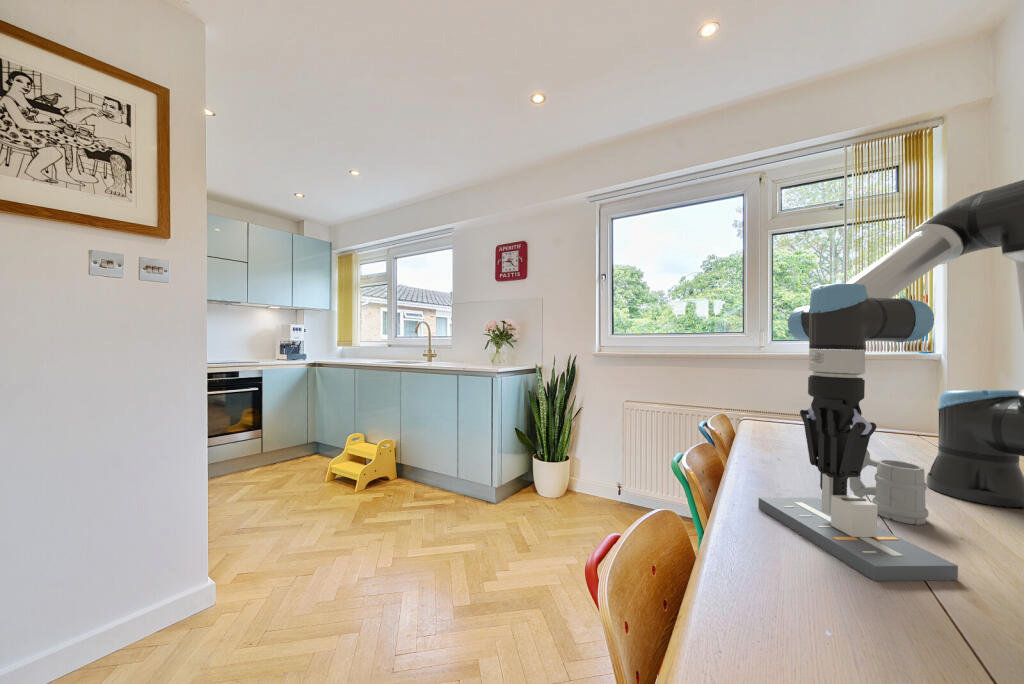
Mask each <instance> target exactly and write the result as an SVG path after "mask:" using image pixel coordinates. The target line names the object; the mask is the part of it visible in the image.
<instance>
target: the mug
mask: <svg viewBox="0 0 1024 684" xmlns="http://www.w3.org/2000/svg"><path fill="white" fill-rule="evenodd" d="M867 466H871V467H873V468H874V467H876V473H875V474H874V480H875V486H866V485H865V484H864V482H863V481H862V480H861V477H862V476H861V475H862V473H860V476H859V477H849V478H848V480H849V482H848V483H849V489H850V491H852V492H853V495H855V496H857V497H860V498H863V497H865V496H874V497H873V498H872V501H871V502H872V503H874V504H876V505H878V507H877V516H878V515H879V516H880V517H883V518H884V519H887V520H892V521H894V522H899V523H904V524H907V525H908V524H909V525H925V524H926V523H927V518H928V517H929V510H928V509H927V507H926V490H927V489H928V486H927V482H925V481H926V478H925V469H924V467H923V466H921V465H918V464H915V463H911V462H906V461H902V460H893V459H879V460H874V459H871V454H870V451H868V449H867V451H866V454H865V458H864V462H863V466H862V470H861V472H862V471H863V469H865V468H866V467H867Z"/></svg>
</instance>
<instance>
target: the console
mask: <svg viewBox="0 0 1024 684" xmlns="http://www.w3.org/2000/svg"><path fill="white" fill-rule="evenodd" d="M757 503H758V509H759V510H761V511H763V512H764V513H766V514H768V515H770V516H771V517H772V518H773V519H776V520H777V521H779V522H780V523H782V524H783V525H785V526H786V527H788V528H790V529H791V530H792V531H795V532H796V533H798V534H799V535H801V536H803V537H804V538H806V539H807V540H808V541H811V542H812V543H813V544H814V545H817V546H819V547H820V548H822V549H823V550H825V551H826V552H828V553H829V554H831V555H833V556H834V557H836V558H838V559H839V560H841V561H842V562H843V563H845V564H847V565H848V566H850V567H852V568H853V569H855V570H856V571H858V572H859V573H861V574H862V575H865V576H866V577H868V578H869V579H871V580H873V581H874V582H884V581H885V582H890V581H891V582H893V581H894V582H899V581H901V582H902V581H903V582H904V581H905V582H907V581H908V582H909V581H912V582H913V581H914V582H915V581H958V580H959V578H958V577H959V565H958V564H955V563H954V562H951V561H949V560H947V559H946V558H943V557H941V556H939V555H937V554H935V553H932V552H931V551H929V550H927V549H925V548H922V547H921V546H919V545H916V544H915V543H912V542H910V541H908V540H906V539H904V538H902V537H900V536H898V535H895V534H893V533H892V532H890V531H887V530H885V529H883V528H881V527H879V526H877V537H851V536H850V535H848V534H846V533H844V532H842V531H840V530H839V529H837V528H835V527H833V526H831V515H828V514H826V513H824V512H822V498H819V497H758V502H757Z"/></svg>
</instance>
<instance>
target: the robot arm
mask: <svg viewBox="0 0 1024 684" xmlns="http://www.w3.org/2000/svg"><path fill="white" fill-rule="evenodd" d="M1000 247H1001V254H1002V256H1004V257H1005V258H1007V259H1010V260H1012V261H1013V262H1015V265H1016V277H1017V285H1018V293H1019V294H1018V295H1019V303H1020V311H1021V312H1020V313H1021V320H1022V330H1023V332H1024V179H1023V180H1022V179H1021V180H1019V181H1015V182H1011V183H1009V184H1006V185H1001V186H997V187H995V188H991V189H988V190H983V191H980V192H977V193H973V194H971V195H969V196H966V197H964V198H963V199H960V200H958V201H957V202H955V203H953V204H952V205H949V206H947V207H946V208H944V209H943V210H941V211H939V212H938V213H935V215H933V216H931V217H929V218H928V219H926V220H925V221H924V222H922V223H921V224H920V225H918V226H917V227H915V228H914V229H912V230H911V231H910V232H909V233H908V235H907V236H906V239H905V241H903V242H902V243H901V244H899V245H898V246H896V247H895V248H894V249H892V250H890V251H889V252H888V253H886V254H885V255H883V256H882V257H881V258H880V259H878V260H877V261H876V262H875V261H874V263H873V264H871V265H869V267H867V268H865V269H864V270H862V271H861V272H859V273H858V274H857V275H855V276H854V277H853V278H851V279H850V280H848V281H847V282H844V283H829V284H823V285H817V286H816V287H814V288H813V289H812V290H811V293H810V298H809V304H808V305H807V304H806V305H804V306H801V307H800V306H799V307H797V308H795V309H793V310H792V312H791V313H790V314H789V316H788V318H787V319H788V320H787V328H788V330H789V333H790V335H791V336H792V337H794V338H795V339H797V340H798V341H802V342H803V341H804V342H809V344H808V346H809V347H808V348H809V350H808V371H809V372H810V373H812V374H811V375H810V374H809V376H808V378H807V394H808V395H809V396H810V397H812V402H811V403H810V407H809V408H807V409H800V411H799V415H800V417H801V420H802V421H803V422H802V423H803V425H804V433H805V438H806V444H807V446H806V447H807V451H808V459H809V463H810V464H811V466H815V467H816V468H817V470H818V471H819V473H820V479H819V481H820V482H819V486H820V489H821V490H820V491H821V500H822V512H824V513H826V514H828V515H831V495H848V480H849V477H859V476H860V474H862V471H863V469H862V466H863V462H864V458H865V454H866V451H867V450H868V448H869V447H868V446H869V443H870V438H871V436H872V435H873V434H874V432H876V429H877V424H876V423H875V422H872V421H871V422H870V421H869V422H868V421H867V420H866V419H865V418H864V417H863V416H862V414H863V413H862V409H861V407H860V401H863V399H865V388H866V387H865V386H866V385H865V384H866V383H865V381H866V380H865V379H864V378H863V377H861V376H862V375H864V374H865V373H866V342H886V343H887V342H889V343H890V342H891V343H900V344H901V343H907V342H916V341H920V340H921V339H923V338H925V337H927V335H929V334H930V333H931V331H932V330H933V328H934V325H935V314H934V312H933V310H932V308H931V307H930V306H929V305H928V304H927V303H925V302H923V301H920V300H917V299H910V298H906V297H900V298H894V297H895V296H897V295H898V294H899V293H900V292H902V291H903V290H905V289H906V288H908V287H909V286H911V285H912V284H914V283H915V282H916V281H918V280H919V279H921V278H922V277H923V276H925V275H926V274H927V273H929V272H930V271H932V270H933V269H935V268H936V267H937V266H939V265H945V264H949V263H951V262H953V261H955V260H957V259H958V258H959V257H961V256H963V255H966V254H969V253H974V252H977V251H982V250H987V249H991V248H1000ZM937 410H938V437H937V439H938V443H937V444H938V451H937V456H936V457H935V459H934V461H933V463H932V465H931V467H930V470H929V472H928V473H927V475H926V484H927V488H929V489H931V490H934V491H936V492H938V493H941V494H943V495H946V496H950V497H953V498H958V499H961V500H965V501H969V502H974V503H979V504H983V505H989V506H990V505H991V506H995V505H996V507H1002V506H1008V507H1007V508H1012V507H1024V474H1023V471H1022V470H1021V467H1020V457H1024V388H1022V389H1021V390H1016V389H1015V390H1014V389H985V390H984V389H983V390H982V389H978V390H977V389H976V390H975V389H969V390H968V389H966V390H965V389H963V390H962V389H961V390H959V389H956V390H953V389H952V390H945V391H944V392H942V393H941V394H940V397H939V403H938V407H937ZM861 470H862V471H861ZM860 477H861V476H860Z"/></svg>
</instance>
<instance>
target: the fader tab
mask: <svg viewBox="0 0 1024 684" xmlns="http://www.w3.org/2000/svg"><path fill="white" fill-rule="evenodd" d="M877 507H878V505H876V504H874V503H872V501H869V500H867V499H866V498H863V497H862V498H860V497H857V496H855V495H854V494H852V495H851V494H849V495H848V494H847V495H831V526H833V527H835V528H837V529H839V530H840V531H842V532H844V533H846V534H848V535H850V536H851V537H877V527H878V514H877Z"/></svg>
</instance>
